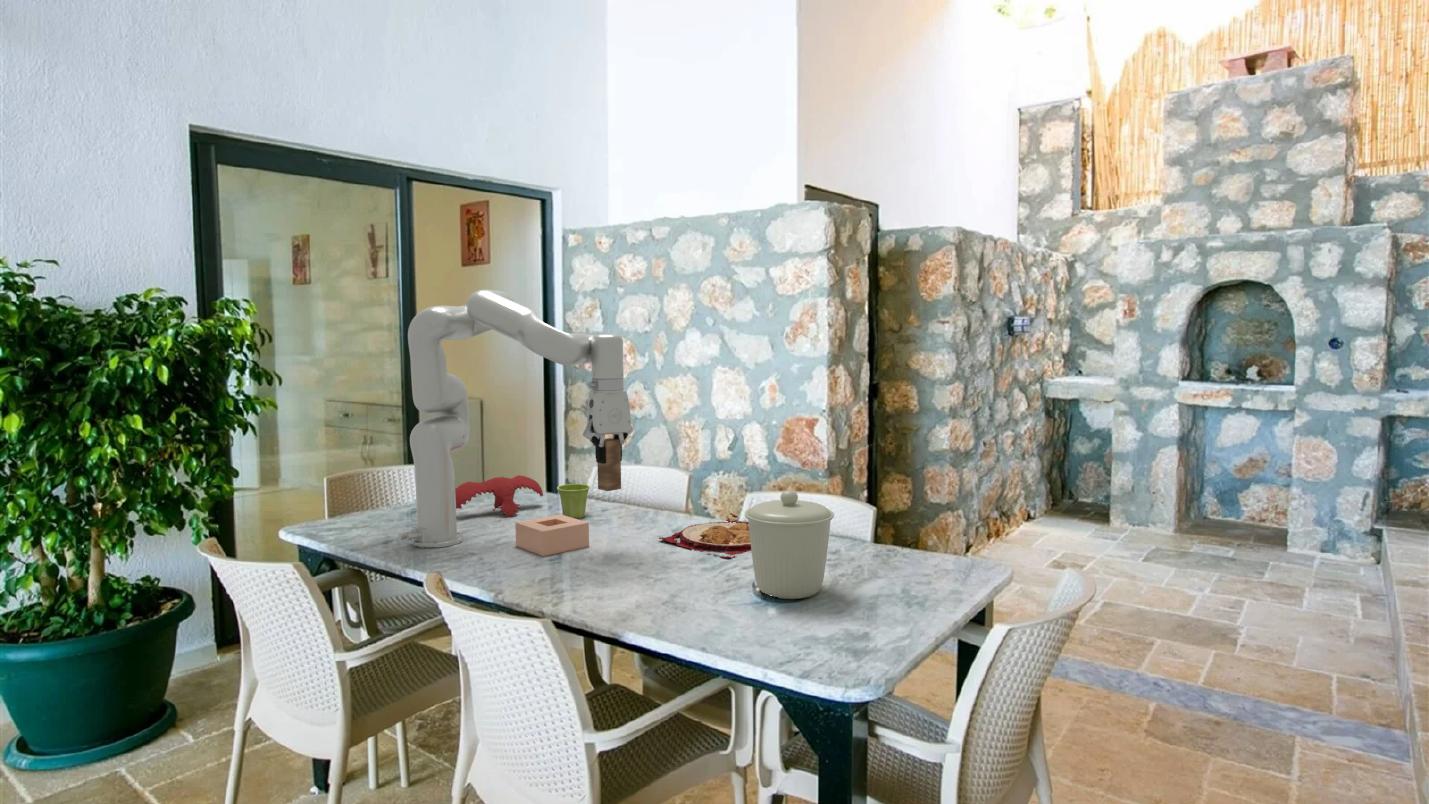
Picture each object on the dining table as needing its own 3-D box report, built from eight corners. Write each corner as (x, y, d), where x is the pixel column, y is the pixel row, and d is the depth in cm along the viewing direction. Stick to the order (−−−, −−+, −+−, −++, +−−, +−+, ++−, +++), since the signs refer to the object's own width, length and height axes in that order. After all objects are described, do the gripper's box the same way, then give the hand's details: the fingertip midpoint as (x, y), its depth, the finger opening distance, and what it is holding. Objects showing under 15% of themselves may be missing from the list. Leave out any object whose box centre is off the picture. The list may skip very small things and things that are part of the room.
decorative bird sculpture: (548, 521, 255) (531, 481, 262) (559, 504, 250) (541, 463, 256) (458, 537, 237) (443, 493, 244) (467, 519, 232) (451, 474, 238)
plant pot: (597, 515, 244) (596, 485, 243) (575, 521, 236) (575, 491, 235) (572, 511, 249) (572, 482, 248) (550, 518, 241) (550, 488, 240)
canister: (762, 610, 162) (762, 502, 160) (733, 583, 179) (733, 485, 177) (848, 601, 167) (849, 496, 165) (812, 575, 184) (813, 480, 182)
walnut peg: (607, 491, 201) (606, 441, 200) (597, 488, 204) (597, 439, 203) (621, 489, 204) (620, 439, 203) (611, 486, 207) (610, 438, 206)
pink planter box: (543, 556, 201) (542, 531, 200) (516, 546, 211) (515, 522, 210) (589, 546, 210) (588, 522, 209) (560, 536, 219) (560, 514, 219)
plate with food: (657, 544, 214) (657, 531, 214) (728, 524, 233) (728, 511, 233) (727, 564, 197) (727, 549, 197) (798, 540, 216) (798, 526, 216)
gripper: (587, 388, 193) (588, 467, 195) (645, 384, 204) (646, 459, 206) (569, 387, 199) (570, 463, 200) (626, 383, 210) (627, 456, 212)
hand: (609, 460), depth 203 cm, fingers closed on walnut peg, 4 cm apart
